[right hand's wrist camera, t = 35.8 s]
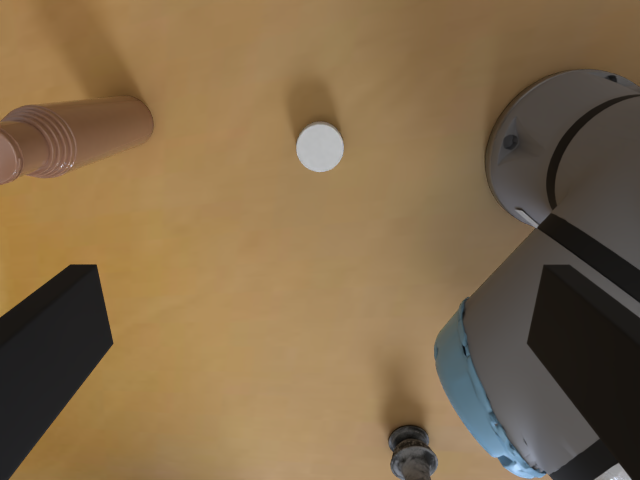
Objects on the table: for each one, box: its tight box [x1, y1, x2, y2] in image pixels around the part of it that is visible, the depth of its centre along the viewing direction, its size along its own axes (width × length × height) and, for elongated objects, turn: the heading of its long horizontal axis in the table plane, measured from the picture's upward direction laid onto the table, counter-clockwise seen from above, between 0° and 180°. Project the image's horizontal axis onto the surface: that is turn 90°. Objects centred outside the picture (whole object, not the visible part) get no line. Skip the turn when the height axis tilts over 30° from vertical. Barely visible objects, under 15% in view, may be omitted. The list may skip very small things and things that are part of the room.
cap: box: [296, 121, 344, 172], centre depth 40 cm, size 4×4×2 cm
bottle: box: [0, 95, 153, 184], centre depth 32 cm, size 5×5×19 cm
